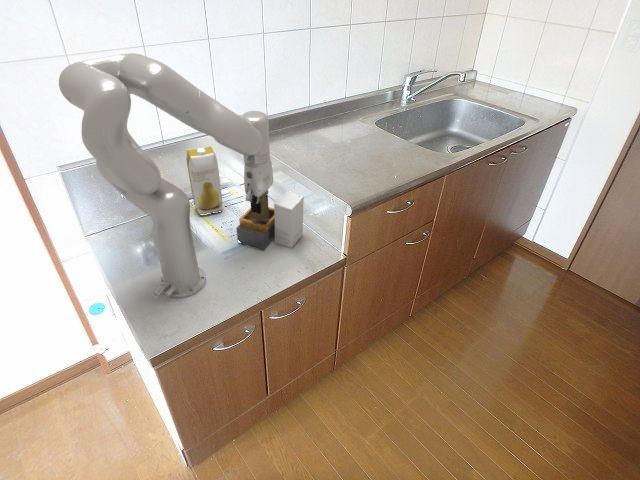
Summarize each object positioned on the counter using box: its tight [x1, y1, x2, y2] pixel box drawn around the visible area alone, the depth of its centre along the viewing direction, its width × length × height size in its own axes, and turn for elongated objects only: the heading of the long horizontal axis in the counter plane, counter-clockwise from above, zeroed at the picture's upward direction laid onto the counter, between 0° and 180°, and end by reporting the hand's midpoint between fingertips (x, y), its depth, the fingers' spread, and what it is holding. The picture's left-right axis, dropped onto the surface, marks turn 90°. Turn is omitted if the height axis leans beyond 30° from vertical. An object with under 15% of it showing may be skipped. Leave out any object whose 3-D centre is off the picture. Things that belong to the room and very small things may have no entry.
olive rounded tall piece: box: [251, 191, 270, 220], centre depth 128 cm, size 6×6×11 cm
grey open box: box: [236, 206, 275, 252], centre depth 134 cm, size 14×10×8 cm
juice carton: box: [186, 145, 223, 214], centre depth 139 cm, size 9×8×24 cm
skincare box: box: [273, 191, 305, 249], centre depth 130 cm, size 8×7×16 cm
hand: (259, 208), depth 130 cm, fingers closed on olive rounded tall piece, 4 cm apart
